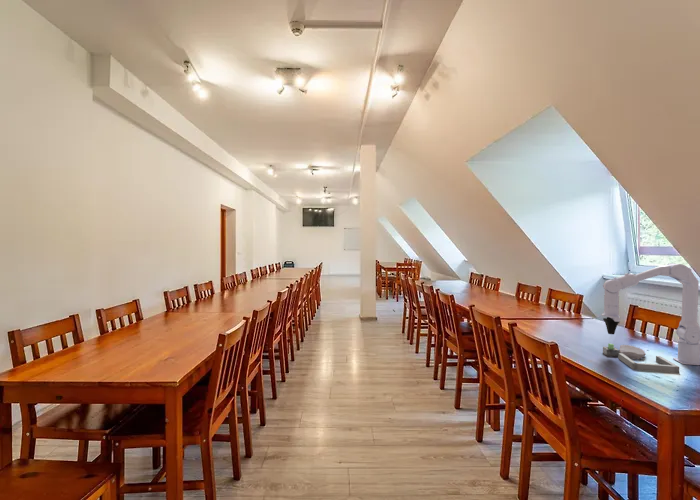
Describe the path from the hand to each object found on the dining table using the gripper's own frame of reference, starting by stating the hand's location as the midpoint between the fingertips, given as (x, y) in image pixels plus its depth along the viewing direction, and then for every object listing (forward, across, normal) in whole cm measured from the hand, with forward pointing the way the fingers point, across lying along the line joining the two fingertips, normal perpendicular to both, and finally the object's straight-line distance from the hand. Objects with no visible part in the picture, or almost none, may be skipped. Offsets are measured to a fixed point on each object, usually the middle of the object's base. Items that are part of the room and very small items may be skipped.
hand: (611, 334), depth 179 cm
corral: (+10, +14, +9) cm, 19 cm away
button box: (+10, 0, 0) cm, 10 cm away
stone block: (+10, 0, +9) cm, 14 cm away
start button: (+10, 0, 0) cm, 10 cm away
